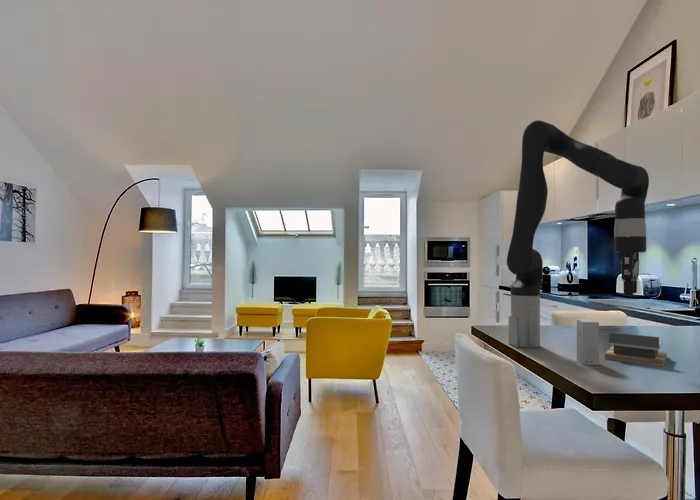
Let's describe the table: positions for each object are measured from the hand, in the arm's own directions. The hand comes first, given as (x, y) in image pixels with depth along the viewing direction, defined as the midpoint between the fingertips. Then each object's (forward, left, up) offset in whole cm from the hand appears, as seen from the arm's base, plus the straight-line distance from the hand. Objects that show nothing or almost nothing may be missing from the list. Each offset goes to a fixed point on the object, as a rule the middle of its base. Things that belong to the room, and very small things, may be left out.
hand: (630, 293), depth 118 cm
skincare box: (-10, +4, -20) cm, 23 cm away
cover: (+8, +8, -16) cm, 19 cm away
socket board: (+8, +8, -20) cm, 23 cm away
